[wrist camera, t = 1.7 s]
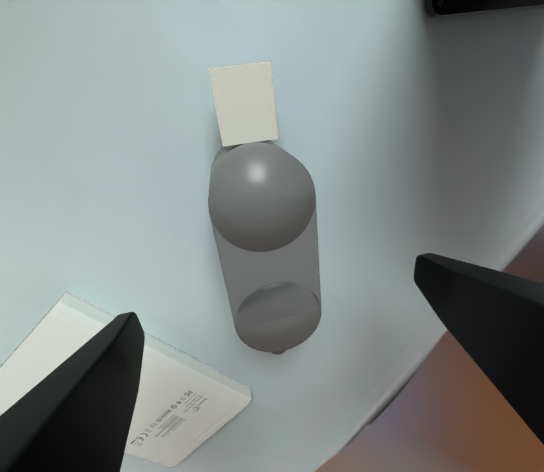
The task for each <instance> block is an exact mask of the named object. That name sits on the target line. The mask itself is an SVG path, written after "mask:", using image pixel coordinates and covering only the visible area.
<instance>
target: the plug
mask: <svg viewBox="0 0 544 472" xmlns="http://www.w3.org/2000/svg"><path fill="white" fill-rule="evenodd" d="M208 69H209V75H210V80H211V86H212V91H213V96H214V102H215V107H216V113H217V118H218V124H219V129H220V135H221V140H222V145H223V147H222V148H221V149H220V150H219V152H218V153H217V155H216V156H215V158H214V161H213V164H212V168H211V177H210V188H209V199H208V203H209V213H210V217H211V222H212V226H213V231H214V235H215V240H216V244H217V248H218V253H219V257H220V262H221V266H222V271H223V275H224V279H225V284H226V288H227V293H228V297H229V302H230V306H231V311H232V315H233V319H234V324H235V328H236V331H237V334H238V336H239V337H240V339H241V340H242V341H243V342H244V343H245V344H247V345H248V346H250V347H251V348H253V349H256V350H260V351H265V352H271V353H273V354H277V355H278V354H282V353H284V352H285V351H286V350H287V349H290V348H293V347H295V346H297V345H299V344H301V343H302V342H304V341H305V340H306V339H307V338H309V337H310V336H311V335H312V333H313V332H314V331H315V329H316V328H317V326H318V324H319V321H320V318H321V295H320V274H319V254H318V234H317V214H316V195H315V188H314V184H313V181H312V178H311V176H310V174H309V173H308V171H307V169H306V168H305V167H304V166H303V164H301V163H300V162H299V161H298V160H297V159H296V158H294V157H293V156H291V155H290V154H289V153H287V152H286V151H284V150H283V149H281V148H280V147H278V146H277V145H275V144H274V143H273V142H271V141H269V140H273V139H278V130H277V120H276V110H275V100H274V90H273V80H272V70H271V61H266V62H257V63H248V64H239V65H231V66H222V67H213V68H208Z"/></svg>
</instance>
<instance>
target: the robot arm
mask: <svg viewBox="0 0 544 472" xmlns="http://www.w3.org/2000/svg"><path fill="white" fill-rule="evenodd" d="M536 7H544V0H443V3H442V6H441V7H440V6H439V4H438V0H425V10H426V12H427V14H428V15H429V16H430V17H432V18H440V17H449V16H459V15H469V14H478V13H488V12H498V11H507V10H517V9H527V8H536ZM414 281H415V283H416V285H417V286H418V288H419V289H420V291H421V292H422V294H423V295H424V297H425V298H426V300H427V301H428V303H429V304H430V306H431V307H432V309H433V310H434V311H435V313H436V314H437V316H438V317H439V319H440V320H441V321H442V323H443V324H444V325H445V326H446V328H447V329H448V330H449V331H450V333H451V334H452V335H453V336H454V337H455V339H456V340H457V341H458V342H459V343H460V345H461V346H462V347H463V348H464V349H465V351H466V352H467V353H468V354H469V355H470V357H471V358H472V359H473V360H474V362H475V363H476V364H477V365H478V366H479V367H480V369H481V370H482V371H483V372H484V373H485V375H486V376H487V377H488V378H489V380H490V381H491V382H492V383H493V384H494V386H495V387H496V388H497V389H498V390H499V392H500V393H501V394H502V395H503V396H504V398H505V399H506V400H507V401H508V403H509V404H510V405H511V406H512V407H513V409H515V411H516V412H517V413H518V415H519V416H520V417H521V418H522V419H523V421H524V422H525V423H526V424H527V425H528V427H529V428H530V429H531V430H532V432H533V433H534V434H535V435H536V436H537V438H538V439H539V440H540V441H541V442H542V443H543V445H544V283H542V282H538V281H534V280H530V279H527V278H522V277H519V276H515V275H511V274H507V273H504V272H500V271H496V270H493V269H489V268H485V267H481V266H478V265H474V264H470V263H466V262H462V261H459V260H455V259H451V258H447V257H444V256H440V255H436V254H432V253H427V254H422V255H419V256H417V258H416V262H415V270H414ZM144 342H145V335H144V331H143V329H142V326H141V324H140V322H139V319H138V317H137V315H136V313H134V312H128V313H123V314H120V315H118V316H117V317H116V318H114V319H113V320H112V321H111V322H110V323H109V324H107V325H106V326H105V327H104V328H103V329H102V330H100V331H99V332H98V333H97V334H96V335H94V336H93V337H92V338H91V339H90V340H89V341H87V342H86V343H85V344H84V345H83V346H82V347H80V348H79V349H78V350H77V351H76V352H74V353H73V354H72V355H71V356H70V357H69V358H67V359H66V360H65V361H64V362H63V363H62V364H60V365H59V366H58V367H57V368H56V369H55V370H53V371H52V372H51V373H50V374H49V375H47V376H46V377H45V378H44V379H43V380H42V381H40V382H39V383H38V384H37V385H36V386H35V387H33V388H32V389H31V390H30V391H29V392H28V393H26V394H25V395H24V396H23V397H22V398H20V399H19V400H18V401H17V402H16V403H15V404H13V405H12V406H11V407H10V408H9V409H8V410H6V411H5V412H4V413H3V414H2V415H1V416H0V472H120V468H121V464H122V460H123V455H124V451H125V447H126V443H127V438H128V434H129V430H130V426H131V421H132V417H133V413H134V408H135V404H136V400H137V395H138V390H139V384H140V376H141V368H142V359H143V351H144Z"/></svg>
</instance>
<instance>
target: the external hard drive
mask: <svg viewBox="0 0 544 472" xmlns="http://www.w3.org/2000/svg"><path fill="white" fill-rule="evenodd" d="M114 318H116V317H115V316H113V315H111V314H109V313H107V312H105V311H104V310H102V309H100V308H98V307H96V306H94V305H92V304H90V303H88V302H87V301H85V300H83V299H81V298H79V297H77V296H75V295H73V294H71V293H70V292H68V291H67V292H65V293H64V294H63V295H62V297H61V298H60V299H59V300H58V301H57V302H56V304H55V305H54V306H53V307H52V308H51V309H50V310H49V312H48V313H47V314H46V315H45V316H44V317H43V318H42V320H41V321H40V322H39V323H38V324H37V325H36V326H35V328H34V329H33V330H32V331H31V332H30V333H29V334H28V336H27V337H26V338H25V339H24V340H23V341H22V342H21V344H20V345H19V346H18V347H17V348H16V349H15V350H14V352H13V353H12V354H11V355H10V356H9V357H8V358H7V359H6V361H5V362H4V363H3V364H2V365H1V366H0V416H1V415H2V414H3V413H4V412H5V411H6V410H8V409H9V408H10V407H11V406H12V405H13V404H15V403H16V402H17V401H18V400H19V399H20V398H22V397H23V396H24V395H25V394H26V393H28V392H29V391H30V390H31V389H32V388H33V387H35V386H36V385H37V384H38V383H39V382H40V381H42V380H43V379H44V378H45V377H46V376H47V375H49V374H50V373H51V372H52V371H53V370H55V369H56V368H57V367H58V366H59V365H60V364H62V363H63V362H64V361H65V360H66V359H67V358H69V357H70V356H71V355H72V354H73V353H74V352H76V351H77V350H78V349H79V348H80V347H82V346H83V345H84V344H85V343H86V342H87V341H89V340H90V339H91V338H92V337H93V336H94V335H96V334H97V333H98V332H99V331H100V330H102V329H103V328H104V327H105V326H106V325H107V324H109V323H110V322H111V321H112V320H113V319H114ZM144 335H145V342H144V351H143V359H142V368H141V376H140V384H139V390H138V395H137V400H136V404H135V408H134V413H133V417H132V421H131V426H130V430H129V434H128V438H127V443H126V447H125V451H124V454H128V455H131V456H134V457H138V458H141V459H144V460H148V461H151V462H154V463H157V464H160V465H163V466H167V467H170V468H172V467H175V466H176V465H177V464H178V463H180V462H181V461H182V460H183V459H185V458H186V457H187V456H188V455H189V454H190V453H191V452H193V451H194V450H195V449H196V448H197V447H198V446H200V445H201V444H202V443H203V442H204V441H206V440H207V439H208V438H209V437H210V436H212V435H213V434H214V433H215V432H216V431H218V430H219V429H220V428H221V427H222V426H224V425H225V424H226V423H227V422H228V421H229V420H231V419H232V418H233V417H234V416H235V415H237V414H238V413H239V412H240V411H241V410H243V409H244V408H245V407H246V406H247V405H248V403H249V402H250V401H251V390H250V387H248V386H246V385H244V384H242V383H240V382H238V381H236V380H234V379H233V378H231V377H229V376H227V375H225V374H223V373H221V372H219V371H217V370H216V369H214V368H212V367H210V366H208V365H206V364H204V363H202V362H200V361H198V360H197V359H195V358H193V357H191V356H189V355H187V354H185V353H183V352H181V351H179V350H178V349H176V348H174V347H172V346H170V345H168V344H166V343H164V342H162V341H160V340H159V339H157V338H155V337H153V336H151V335H149V334H147V333H145V332H144Z"/></svg>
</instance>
